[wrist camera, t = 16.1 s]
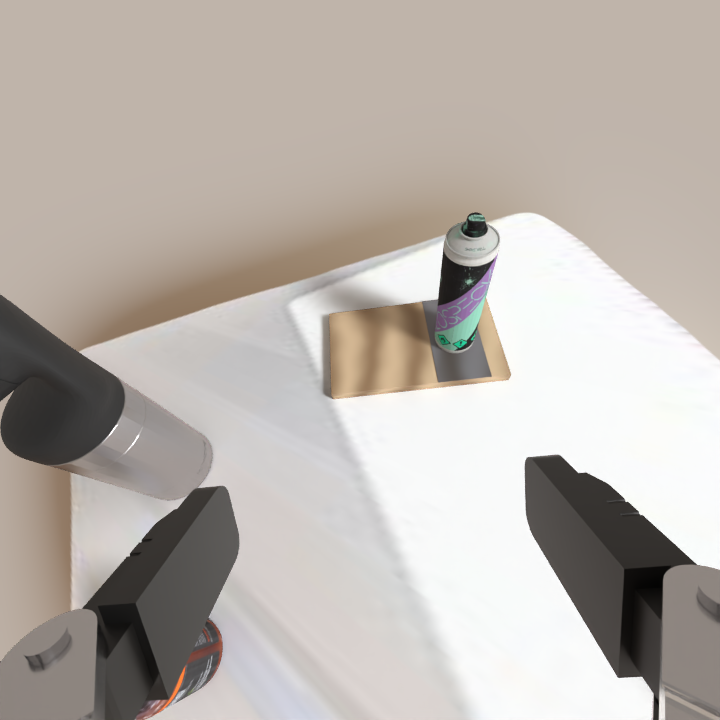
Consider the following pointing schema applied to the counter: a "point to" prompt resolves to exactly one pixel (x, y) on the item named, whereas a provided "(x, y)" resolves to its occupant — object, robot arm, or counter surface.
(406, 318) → the plywood panel
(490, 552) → the counter surface
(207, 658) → the supplement bottle
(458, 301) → the spray can
